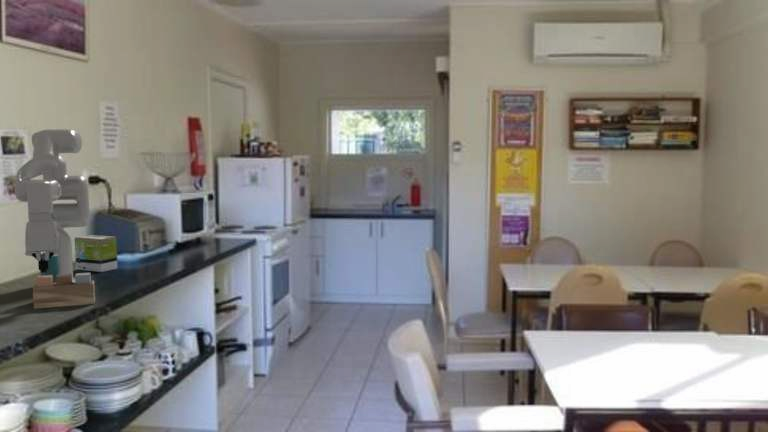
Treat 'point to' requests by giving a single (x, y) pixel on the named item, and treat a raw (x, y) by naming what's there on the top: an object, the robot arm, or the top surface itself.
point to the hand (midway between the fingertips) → (44, 271)
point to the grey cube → (83, 278)
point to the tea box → (96, 253)
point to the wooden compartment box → (64, 295)
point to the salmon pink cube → (44, 281)
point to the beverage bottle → (52, 267)
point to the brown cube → (64, 279)
